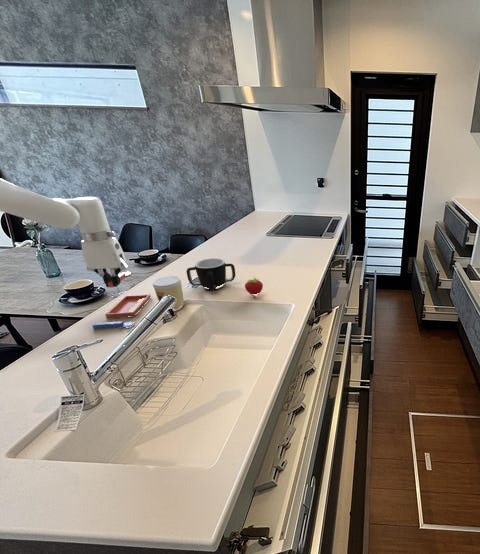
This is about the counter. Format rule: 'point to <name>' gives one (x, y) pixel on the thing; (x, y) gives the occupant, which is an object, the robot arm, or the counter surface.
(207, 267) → the mug
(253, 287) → the strawberry
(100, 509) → the counter surface
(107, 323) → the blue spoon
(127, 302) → the red tray
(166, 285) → the coffee cup
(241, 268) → the counter surface
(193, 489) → the counter surface
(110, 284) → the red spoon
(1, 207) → the robot arm
